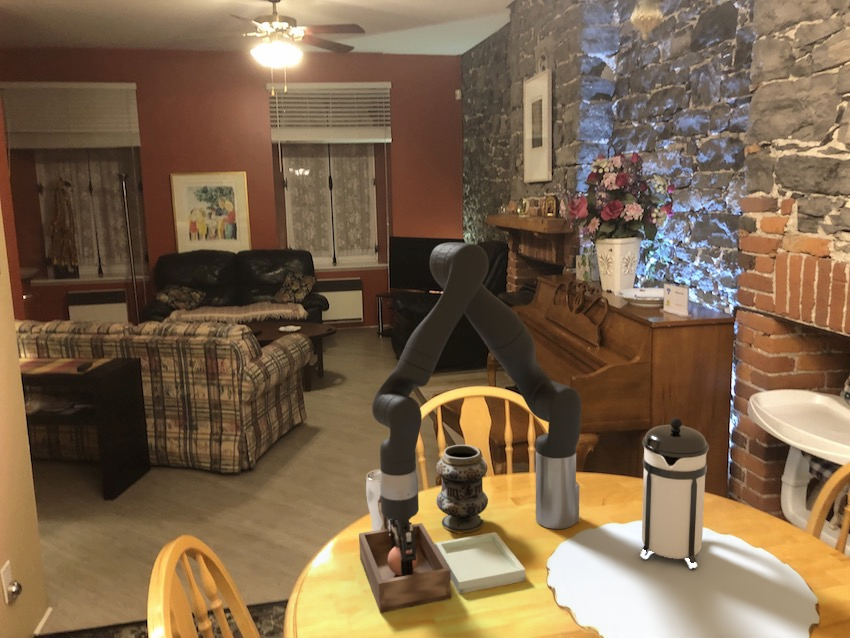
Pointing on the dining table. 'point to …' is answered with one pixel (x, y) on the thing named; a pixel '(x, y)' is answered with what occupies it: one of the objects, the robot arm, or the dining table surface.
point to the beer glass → (375, 500)
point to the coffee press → (673, 490)
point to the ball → (397, 561)
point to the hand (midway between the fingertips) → (401, 564)
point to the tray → (480, 562)
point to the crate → (408, 590)
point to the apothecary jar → (462, 488)
